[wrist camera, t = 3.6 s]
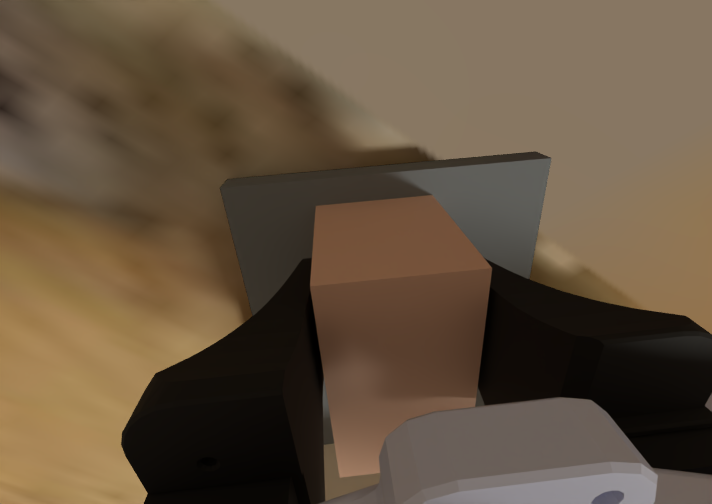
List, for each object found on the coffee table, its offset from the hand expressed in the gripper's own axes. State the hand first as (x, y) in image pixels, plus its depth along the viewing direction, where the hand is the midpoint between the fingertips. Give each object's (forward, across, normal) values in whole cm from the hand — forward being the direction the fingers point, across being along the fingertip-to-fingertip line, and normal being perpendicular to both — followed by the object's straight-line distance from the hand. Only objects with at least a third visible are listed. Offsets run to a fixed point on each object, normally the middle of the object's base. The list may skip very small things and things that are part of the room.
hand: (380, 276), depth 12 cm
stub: (+1, 0, +1) cm, 1 cm away
